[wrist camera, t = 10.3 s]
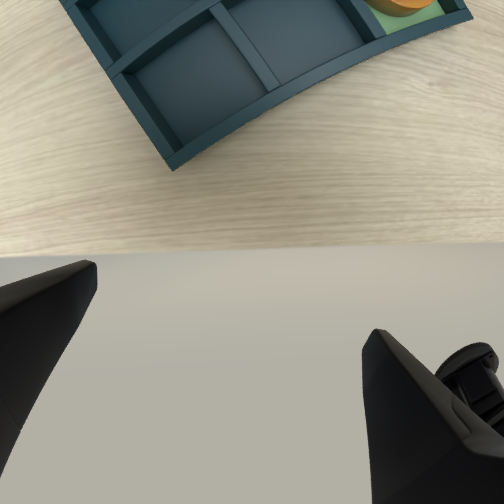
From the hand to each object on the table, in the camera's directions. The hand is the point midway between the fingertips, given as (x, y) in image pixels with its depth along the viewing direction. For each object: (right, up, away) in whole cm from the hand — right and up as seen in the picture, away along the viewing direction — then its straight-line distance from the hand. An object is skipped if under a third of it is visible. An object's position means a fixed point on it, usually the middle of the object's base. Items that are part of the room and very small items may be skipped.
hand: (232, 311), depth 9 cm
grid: (0, +20, +4) cm, 21 cm away
